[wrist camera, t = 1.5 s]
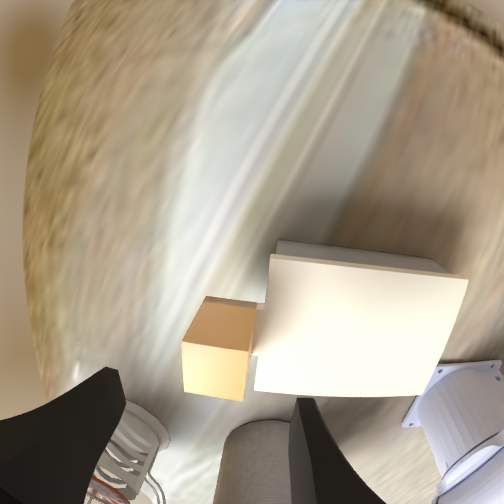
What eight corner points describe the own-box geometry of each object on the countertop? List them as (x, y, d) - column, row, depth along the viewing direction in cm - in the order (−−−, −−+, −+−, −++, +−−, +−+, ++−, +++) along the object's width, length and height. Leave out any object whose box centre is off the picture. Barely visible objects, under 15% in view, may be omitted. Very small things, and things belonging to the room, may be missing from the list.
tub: (431, 258, 18) (458, 279, 14) (401, 353, 21) (417, 385, 17) (277, 239, 19) (275, 260, 15) (264, 345, 21) (260, 380, 18)
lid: (463, 275, 14) (504, 309, 10) (419, 388, 17) (439, 433, 13) (208, 246, 15) (180, 280, 11) (205, 375, 18) (187, 426, 14)
